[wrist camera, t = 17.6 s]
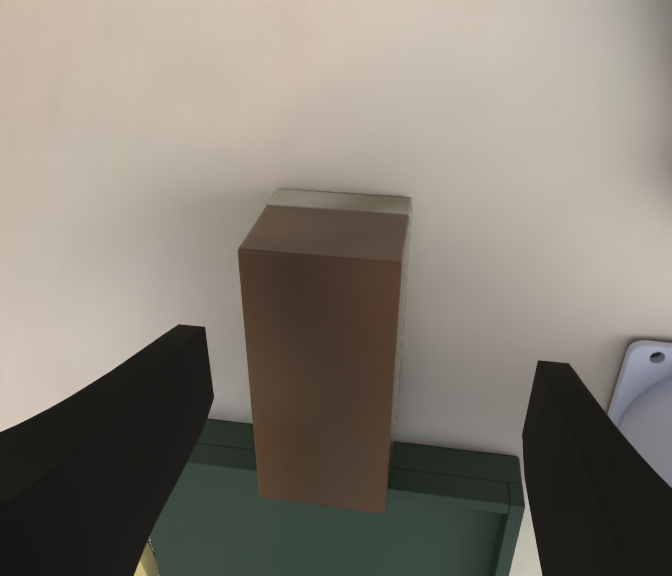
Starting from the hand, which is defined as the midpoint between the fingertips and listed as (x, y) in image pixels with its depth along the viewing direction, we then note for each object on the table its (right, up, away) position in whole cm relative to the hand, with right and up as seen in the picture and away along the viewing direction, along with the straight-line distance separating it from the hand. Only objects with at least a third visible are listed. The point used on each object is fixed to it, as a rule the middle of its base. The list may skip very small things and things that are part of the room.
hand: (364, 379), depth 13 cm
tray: (-1, -12, +20) cm, 23 cm away
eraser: (0, +1, +12) cm, 12 cm away
